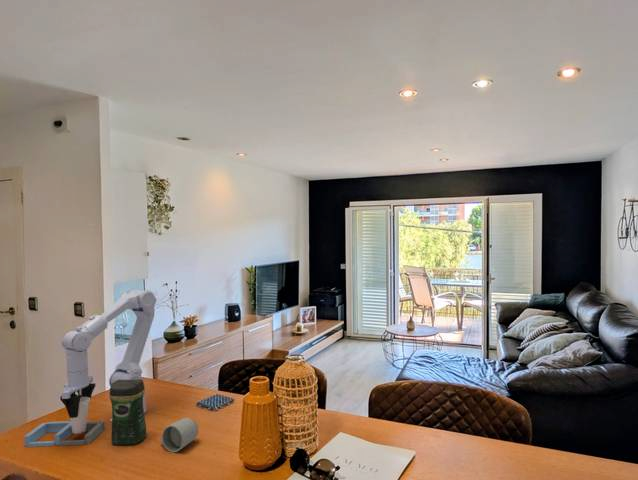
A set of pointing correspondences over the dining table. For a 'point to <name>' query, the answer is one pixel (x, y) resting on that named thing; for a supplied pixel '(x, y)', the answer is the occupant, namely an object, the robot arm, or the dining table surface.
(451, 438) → the dining table surface
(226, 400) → the woven mat
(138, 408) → the coffee jar
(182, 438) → the grey hollow cylinder
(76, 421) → the smoothie
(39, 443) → the frame
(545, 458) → the dining table surface
